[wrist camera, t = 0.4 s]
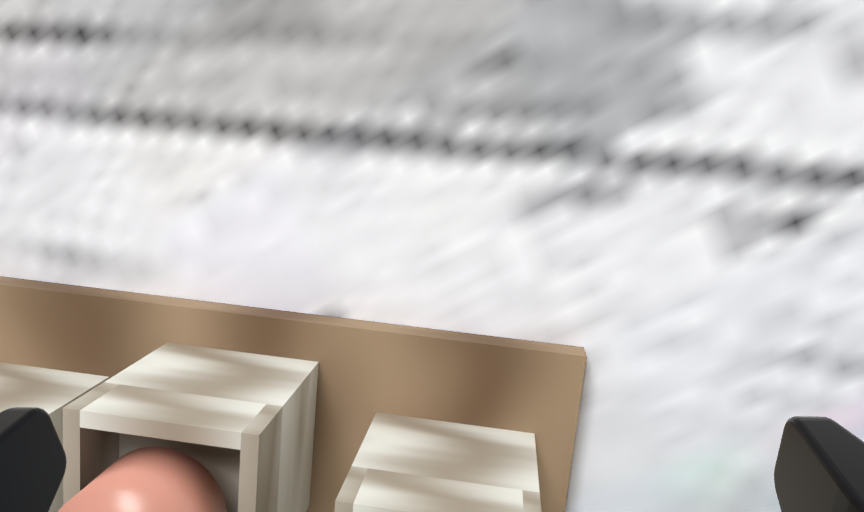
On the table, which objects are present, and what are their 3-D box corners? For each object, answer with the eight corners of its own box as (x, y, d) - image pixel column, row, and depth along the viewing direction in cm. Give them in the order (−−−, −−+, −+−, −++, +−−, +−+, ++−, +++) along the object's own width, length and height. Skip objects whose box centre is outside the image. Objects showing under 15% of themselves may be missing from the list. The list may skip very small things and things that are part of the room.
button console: (-41, 507, 28) (-214, 628, 22) (-50, 270, 27) (-244, 319, 20) (548, 598, 26) (562, 763, 19) (583, 347, 24) (613, 432, 18)
